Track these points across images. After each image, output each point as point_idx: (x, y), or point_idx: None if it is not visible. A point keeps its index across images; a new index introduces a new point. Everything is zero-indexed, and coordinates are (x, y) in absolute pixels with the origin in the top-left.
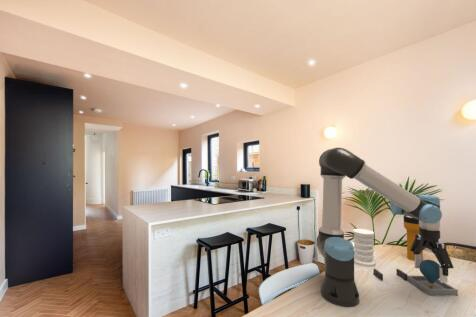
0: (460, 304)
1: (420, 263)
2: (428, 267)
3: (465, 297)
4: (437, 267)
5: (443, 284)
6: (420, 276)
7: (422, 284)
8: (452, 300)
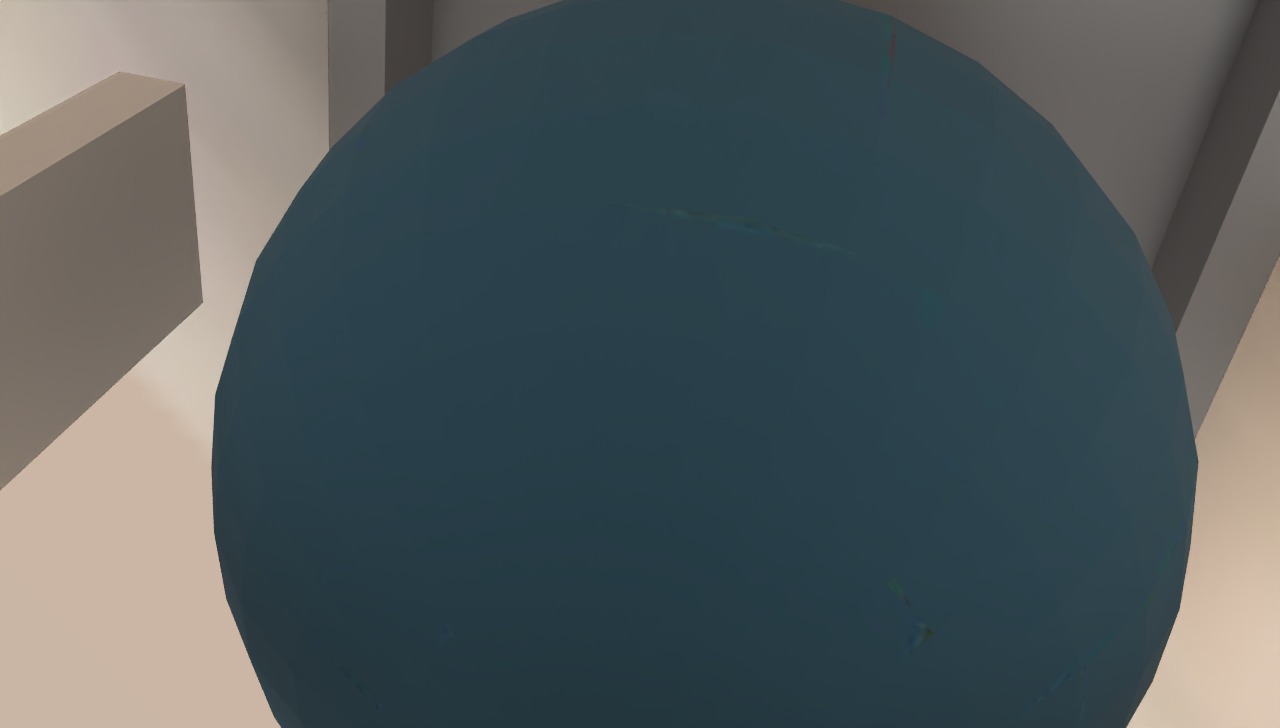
0: (51, 80)
1: (1036, 302)
2: (397, 198)
3: None
4: (225, 558)
5: None
6: (1203, 281)
7: (954, 23)
8: (200, 72)
